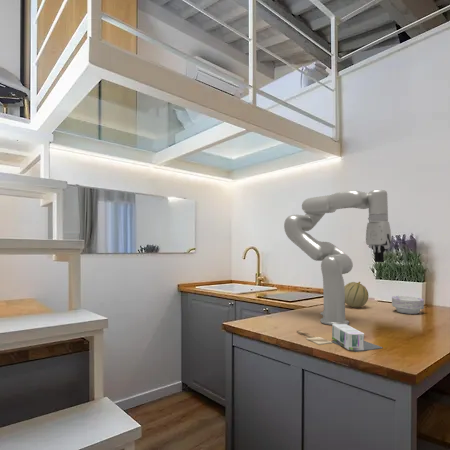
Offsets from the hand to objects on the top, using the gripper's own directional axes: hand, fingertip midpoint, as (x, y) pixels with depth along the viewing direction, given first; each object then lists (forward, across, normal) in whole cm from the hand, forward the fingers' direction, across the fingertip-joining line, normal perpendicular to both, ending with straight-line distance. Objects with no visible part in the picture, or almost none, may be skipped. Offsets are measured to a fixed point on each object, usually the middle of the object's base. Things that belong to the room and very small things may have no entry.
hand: (379, 261), depth 146 cm
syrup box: (+26, +4, -25) cm, 36 cm away
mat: (+29, +12, -24) cm, 40 cm away
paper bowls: (+29, -26, +45) cm, 60 cm away
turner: (+29, -2, -34) cm, 44 cm away
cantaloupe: (+29, -48, +29) cm, 63 cm away
